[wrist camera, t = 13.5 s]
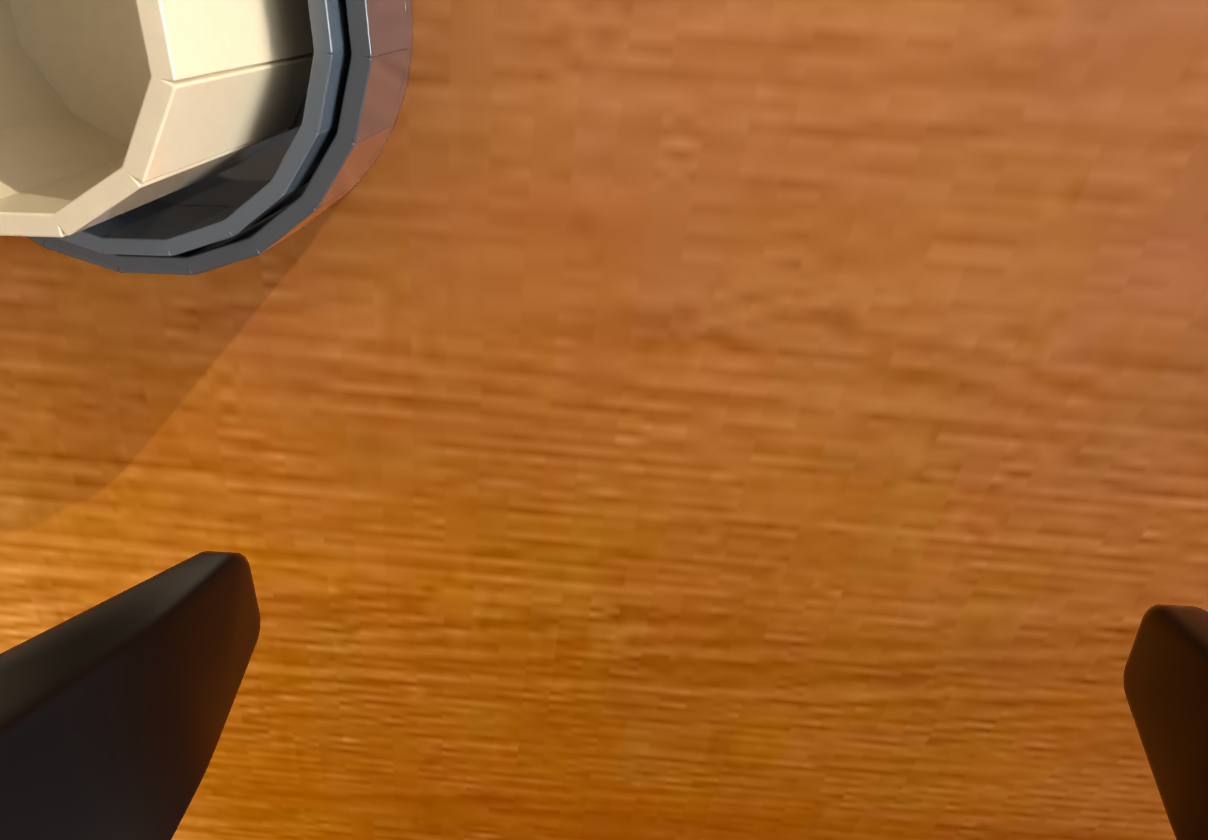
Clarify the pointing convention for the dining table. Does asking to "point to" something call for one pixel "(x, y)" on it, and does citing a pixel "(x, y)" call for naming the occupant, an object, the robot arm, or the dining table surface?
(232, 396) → the dining table surface
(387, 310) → the dining table surface
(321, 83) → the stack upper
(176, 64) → the cream cup
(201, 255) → the stack lower
